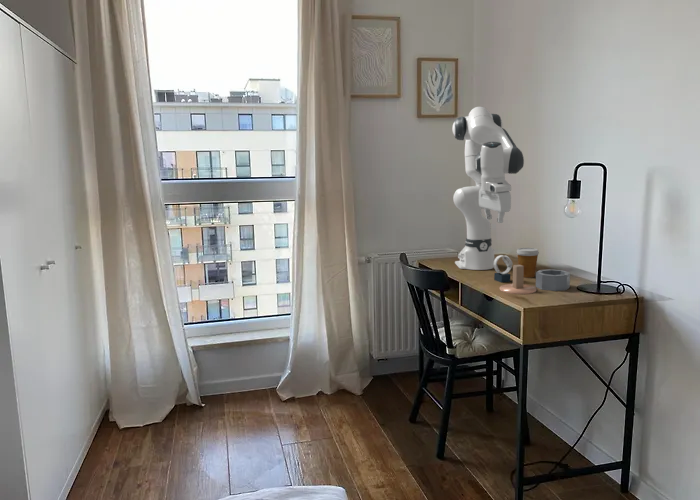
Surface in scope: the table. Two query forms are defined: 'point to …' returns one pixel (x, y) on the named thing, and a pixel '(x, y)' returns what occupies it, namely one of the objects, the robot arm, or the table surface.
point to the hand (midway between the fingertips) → (494, 220)
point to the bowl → (552, 280)
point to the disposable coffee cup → (528, 260)
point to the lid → (518, 283)
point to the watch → (504, 275)
